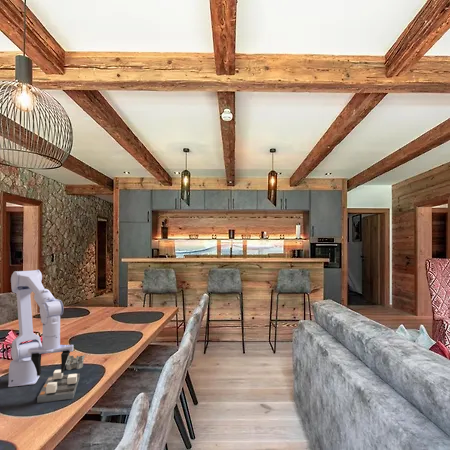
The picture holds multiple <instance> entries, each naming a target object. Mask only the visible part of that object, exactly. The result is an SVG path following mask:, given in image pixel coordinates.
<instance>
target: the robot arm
mask: <svg viewBox="0 0 450 450" xmlns="http://www.w3.org/2000/svg"><path fill="white" fill-rule="evenodd" d="M42 280H43V274H42V272H41V271H40V269H36V270H35V269H33V270H19V271H18V270H17V271H16V270H15V271H13V273H12V274H11V277H10V283H11V284H10V285H11V286H10V287H11V292H12V293H13V294H16V295H15V296H16V301H17V302H16V304H17V306H16V307H17V319H18V335H17V336H16V338H14V339H13V340H12V342H11V351H10V352H11V354H10V355H11V359H12V360H10V363H9V366H8V385H7V387H8V388H11V387H12V388H13V387H18V386H19V387H20V386H28V385H29V386H30V385H36V383H37V382H38V380H39V378H40V377H41V373H42V354H53V353H54V354H55V353H61V354H60V360H61V367H60V368H61V373H63V374H64V372H65V369H66V361H67V358H68V355H69V356H70V353H71V352H74V344H61V316H63V314H64V303H63V301H62V300H61V299H58V298H56V297H54V295H53V294H52V292H51V291H50V290H49V289H47V288H45V287H44V285H43V283H42ZM32 293H34V295H33V299H34V301H35V302H36V304H37V305H38V307H39V314H40V323H42V340H41V337H40V335H38V334H36V333H34V325H33V313H32V312H33V311H32V299H31V295H32Z"/></svg>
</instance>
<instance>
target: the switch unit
mask: <svg viewBox="0 0 450 450" xmlns="http://www.w3.org/2000/svg"><path fill="white" fill-rule="evenodd" d="M76 374H77V382H76V383H75V384H67V377H68V375H69V374H63V377H62V379H53V375H52V376H48V377H47V379H46V380H45V383H44V385H43V386H42V388H41V389H40V392H39V393H38V395H37V397H36V399H37V400H36V403H37V404H40V403H49V402H56V401H57V402H59V401H67V400H73V399H74V397H75V394H76V390H77V388H78V384H79V381H80V379H81V378H80V375H81V373H76ZM51 382H57V390H56V392H55V393H47V394H46V386H47V384H48V383H51Z"/></svg>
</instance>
